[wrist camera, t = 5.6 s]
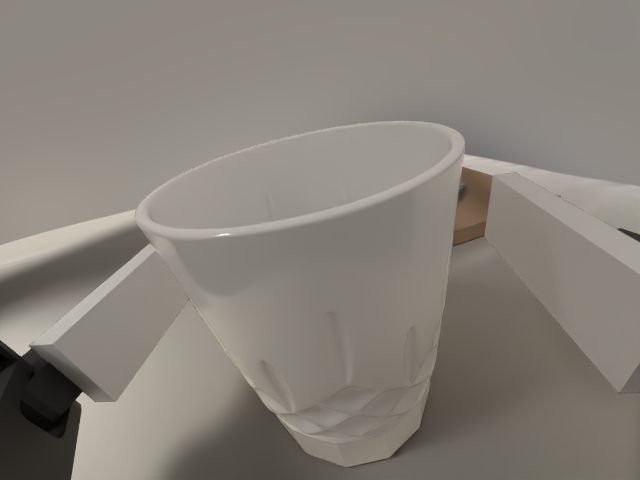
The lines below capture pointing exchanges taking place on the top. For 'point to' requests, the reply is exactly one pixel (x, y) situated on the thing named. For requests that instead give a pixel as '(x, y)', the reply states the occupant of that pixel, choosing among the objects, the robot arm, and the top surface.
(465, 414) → the top surface
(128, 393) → the top surface
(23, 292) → the top surface
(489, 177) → the coaster board
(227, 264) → the white cup
